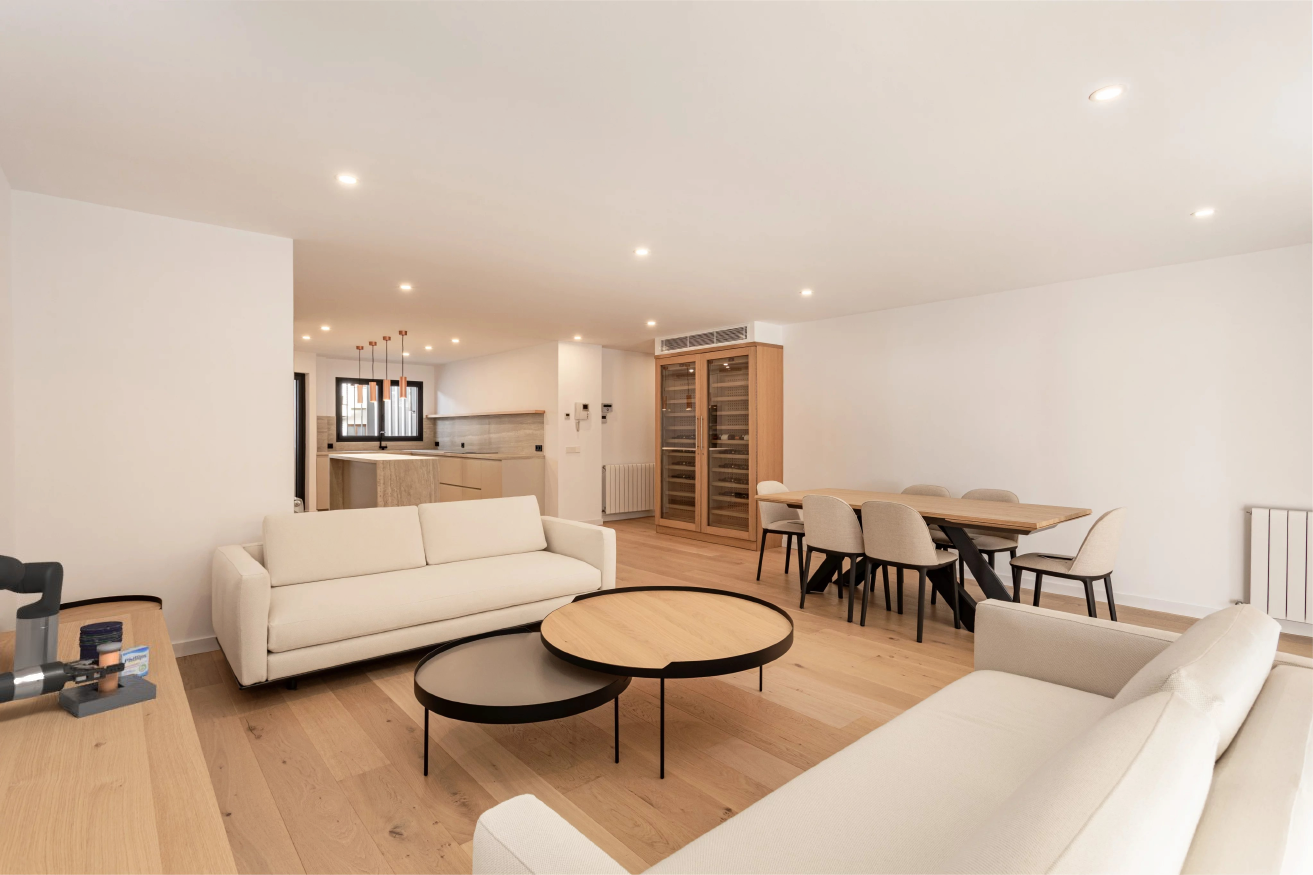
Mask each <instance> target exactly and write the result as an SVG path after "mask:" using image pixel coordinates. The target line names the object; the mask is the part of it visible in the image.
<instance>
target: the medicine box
mask: <svg viewBox="0 0 1313 875" xmlns="http://www.w3.org/2000/svg"><path fill="white" fill-rule="evenodd" d="M149 647H150V646H147V645H135V646H132V647H129V648H125V649H121V651H119V663H124V664H125V669H124V671H121V672H118V677H120V676H125V675H129V674H133V673H134V674H136V675H138V676H140V677H142V678H143V677H145V676H148V674H149V659H150V658H149V657H150V656H149V654H150V653H149V652H150V648H149Z"/></svg>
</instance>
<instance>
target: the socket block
mask: <svg viewBox="0 0 1313 875" xmlns="http://www.w3.org/2000/svg"><path fill="white" fill-rule="evenodd" d="M156 698H157V684H156V683H153V682H152V681H149V680H147V679H145V678H144V677H143V676H142V677H140V676H138V675H136V674H134V673H133V674H129V675H125V676H120V677H118V689H114V690H110V691H105V692H101V693H98V681H93V682H90V683H85V684H81V685H77V686H73V687H67V688H63V689H62V690H61V691H58V699H57V700H58V703H57V704H58V705H60V707H62V708H64V710H66V711H68V712H69V713H71V714H72V715H74V716H75V717H76V718H78V719H81V718H85V717H88V716H92V714H93V715H96V714H99V713H103V712H107V711H111V710H116V709H120V708H123V707H126V705H127V706H130V705H135V704H138V703H142V702H147V701H150V700H154V699H156ZM134 703H135V704H134ZM119 707H120V708H119Z"/></svg>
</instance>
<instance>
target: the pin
mask: <svg viewBox="0 0 1313 875" xmlns="http://www.w3.org/2000/svg"><path fill="white" fill-rule="evenodd" d="M119 649H121V650H122V649H123V641H122V642H111V643H105V644H101V645H98V646H97V652H100V654H99V666H108V665H112V664H117V663H119ZM99 674H100V672H99ZM97 682H98V693H101V692H105V691H110V690H114V689H118V672H117V673H112V674H108V675H107V676H106V678H104V679H99V680H97Z"/></svg>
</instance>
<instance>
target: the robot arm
mask: <svg viewBox="0 0 1313 875" xmlns="http://www.w3.org/2000/svg"><path fill="white" fill-rule="evenodd" d="M64 576H65V574H64V567H63V565H62V563H61V562H59V561H35V562H32V561H31V562H22V561H21V560H20V559H18V558H15V557H13V556H9V555H5V554H0V591H4V590H6V591H10V592H12V593H15V594H22V595H23V594H24V595H29V594H30V595H31V594H41V597H40V599H38V600H36V601H35V602H32V603H28V604H26V605H22V606H20V607H19V608H17V609H16V619H15V634H14V635H15V638H14V655H13V656H14V659H13V670H10V671H7V672H1V673H0V704H4V703H8V702H13V701H21V700H26V699H31V698H35V697H39V696H45V695H48V694H53V693H57V692H58V693H59V691H61V690H63V689H65V685H66V683H68V682H72V683H74V684H75V685H79V684H84V683H85V684H86V683H88V682H90V683H91V682H95V681H94V680H97V681H98V680H99V679H104V678H106V676H107V675H108V674H112V673H117V672H121V671H124V669H125V664H124V663H117V664H112V665H108V666H99V659H96V660H95V661H94V659H90V660H89V659H87V658H86V659H82V660H79V659H78V660H75V661H74V660H73V661H69V662H63V661H61V660H58V647H59V646H58V645H59V644H58V643H59V626H60V624H59V623H60V607H61V603H62V593H63V592H62V590H63V584H64ZM96 672H100V674H96Z"/></svg>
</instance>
